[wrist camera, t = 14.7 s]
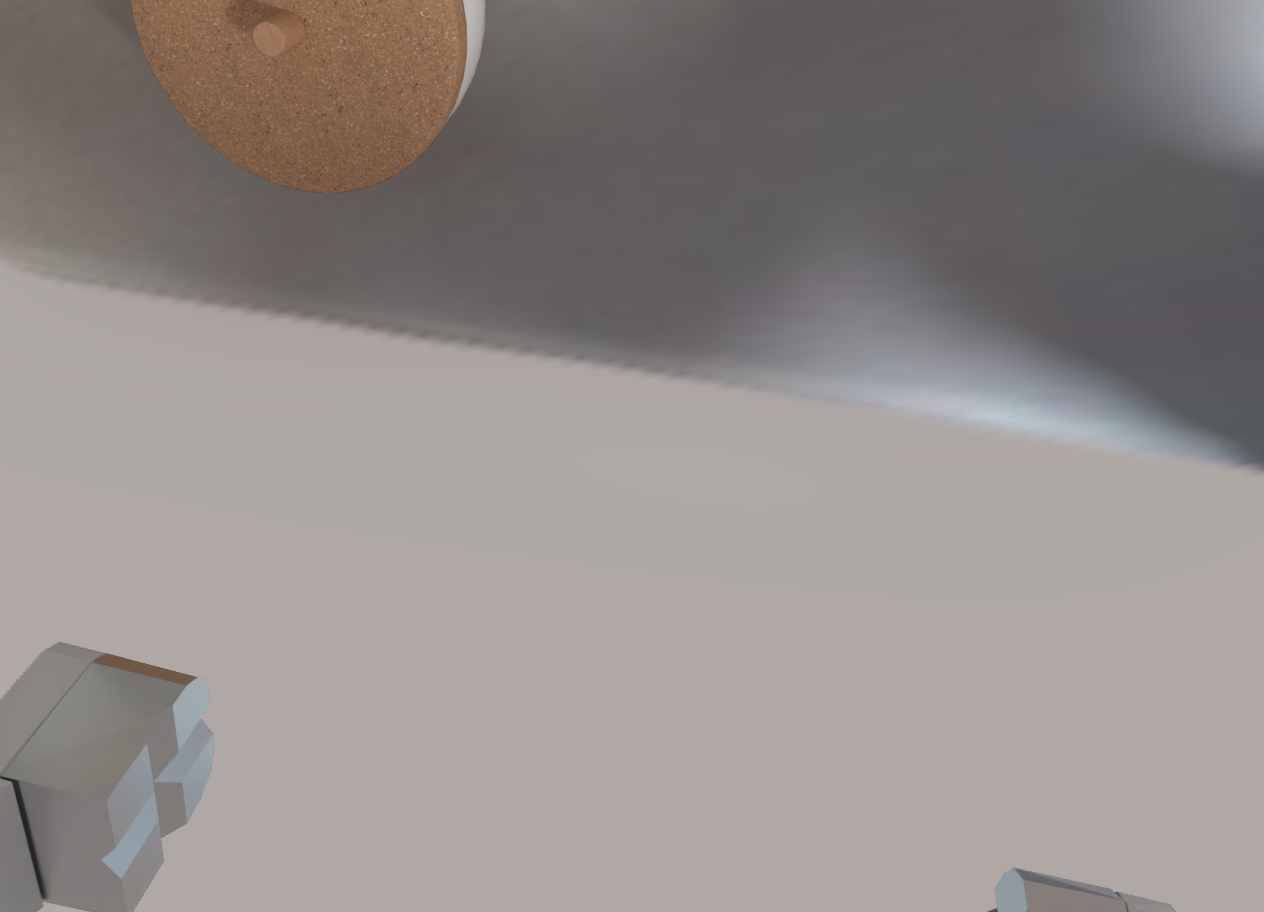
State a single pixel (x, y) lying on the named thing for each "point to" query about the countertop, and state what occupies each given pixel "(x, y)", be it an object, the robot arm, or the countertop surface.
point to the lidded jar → (314, 80)
